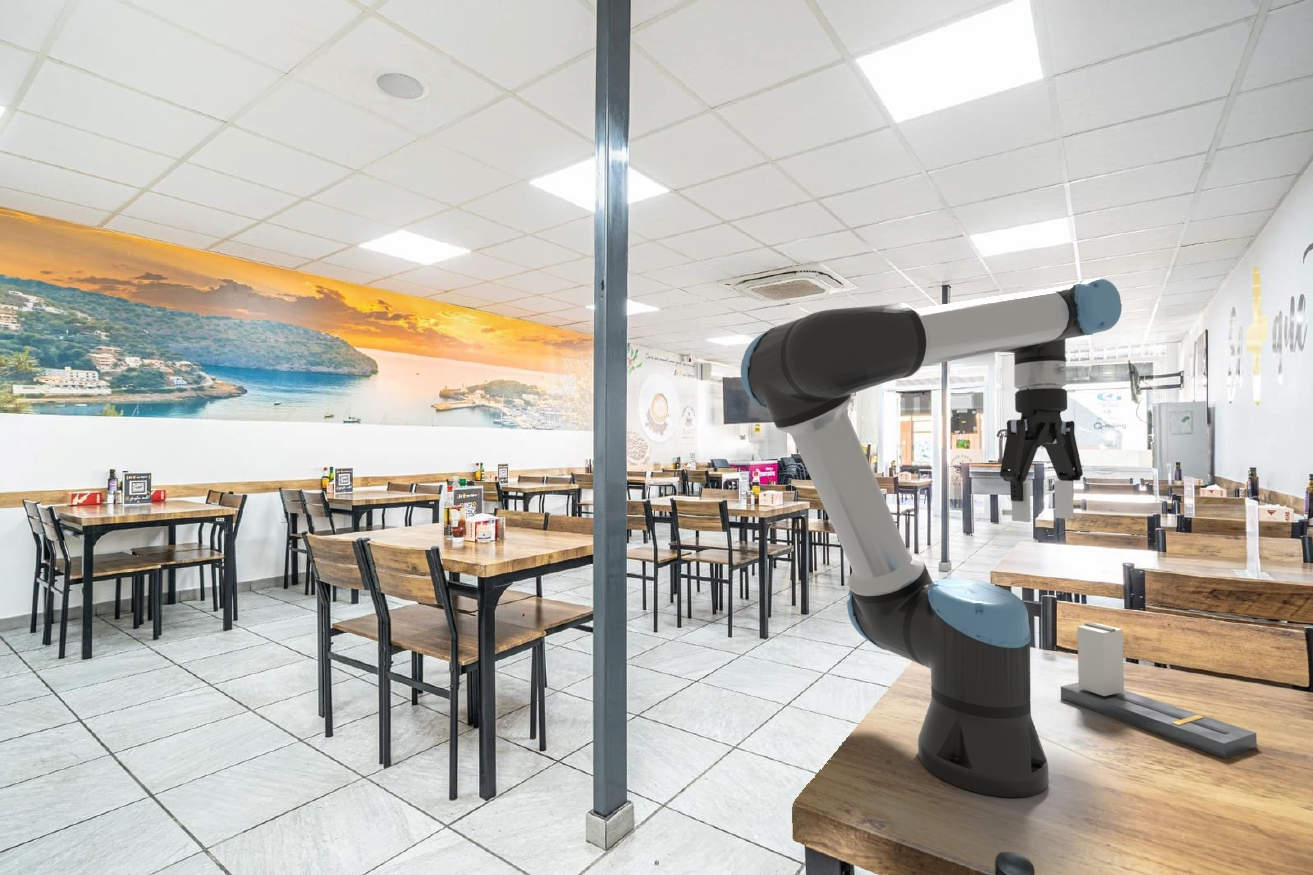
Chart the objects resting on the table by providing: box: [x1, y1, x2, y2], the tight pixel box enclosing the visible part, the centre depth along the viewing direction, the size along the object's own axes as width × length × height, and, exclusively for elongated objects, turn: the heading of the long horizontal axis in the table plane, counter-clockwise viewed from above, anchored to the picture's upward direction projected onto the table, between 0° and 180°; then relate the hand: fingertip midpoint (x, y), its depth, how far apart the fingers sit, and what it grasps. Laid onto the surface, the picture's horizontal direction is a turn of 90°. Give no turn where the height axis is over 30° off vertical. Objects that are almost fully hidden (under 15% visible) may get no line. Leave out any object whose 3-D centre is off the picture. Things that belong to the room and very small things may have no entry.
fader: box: [1076, 622, 1125, 696], centre depth 101 cm, size 4×5×10 cm
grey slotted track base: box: [1060, 681, 1258, 759], centre depth 94 cm, size 22×8×2 cm, turn 23°
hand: (1043, 519), depth 104 cm, fingers open, 10 cm apart
